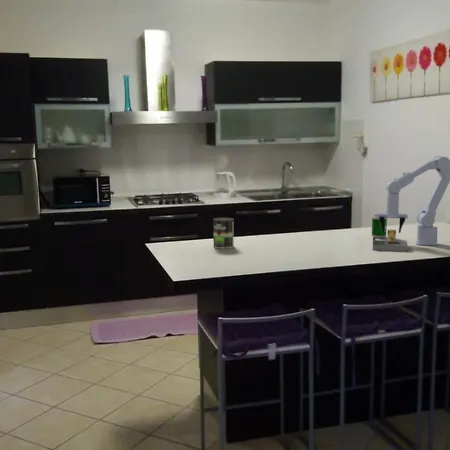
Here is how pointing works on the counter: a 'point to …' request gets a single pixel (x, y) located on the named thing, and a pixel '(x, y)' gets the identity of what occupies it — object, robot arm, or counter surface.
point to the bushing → (391, 235)
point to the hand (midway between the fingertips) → (391, 232)
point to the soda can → (378, 228)
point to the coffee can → (223, 232)
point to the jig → (390, 245)
